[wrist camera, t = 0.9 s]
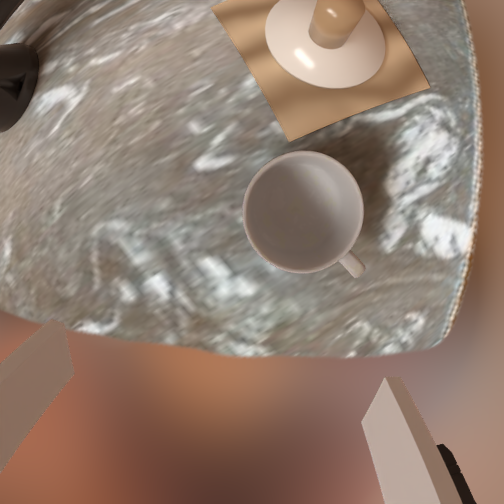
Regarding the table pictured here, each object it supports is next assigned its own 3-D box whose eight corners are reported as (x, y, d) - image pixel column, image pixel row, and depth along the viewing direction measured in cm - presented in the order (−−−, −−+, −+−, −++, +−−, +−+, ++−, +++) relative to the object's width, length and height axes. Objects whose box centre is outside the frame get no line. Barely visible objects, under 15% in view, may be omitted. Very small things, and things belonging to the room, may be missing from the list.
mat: (211, 8, 26) (210, 7, 26) (349, -32, 23) (350, -33, 22) (289, 142, 30) (289, 142, 30) (428, 88, 27) (430, 87, 27)
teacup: (228, 191, 32) (216, 198, 25) (309, 136, 30) (323, 126, 23) (297, 288, 35) (305, 320, 27) (372, 238, 33) (400, 258, 25)
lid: (244, 13, 26) (237, -25, 18) (344, -16, 24) (360, -52, 15) (301, 107, 29) (313, 86, 21) (402, 71, 27) (436, 49, 18)
